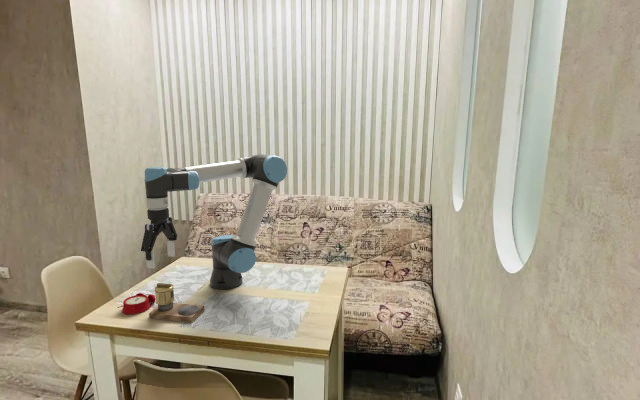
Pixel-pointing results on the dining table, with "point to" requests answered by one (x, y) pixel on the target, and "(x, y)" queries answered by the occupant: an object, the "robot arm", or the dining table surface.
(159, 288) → the cap
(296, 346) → the dining table surface
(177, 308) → the post plinth
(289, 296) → the dining table surface
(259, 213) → the robot arm
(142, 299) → the alarm clock
